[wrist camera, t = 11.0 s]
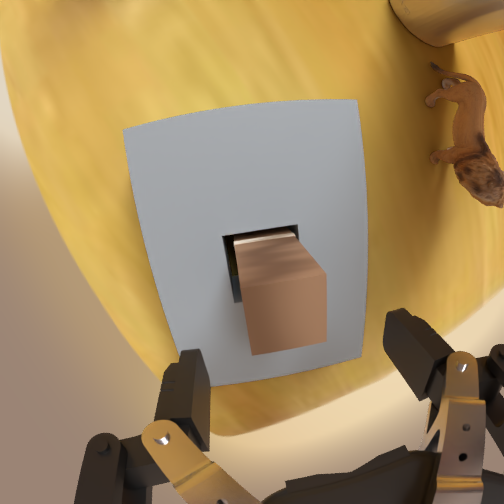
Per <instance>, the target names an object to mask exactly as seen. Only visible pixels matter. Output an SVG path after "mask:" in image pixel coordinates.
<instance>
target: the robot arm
mask: <svg viewBox="0 0 504 504" xmlns="http://www.w3.org/2000/svg"><path fill="white" fill-rule="evenodd" d="M390 4H391V6H392V8H393V10H394V12H395V14H396V15H397V17H398V18H399V19H400V21H401V22H402V23H403V25H404V26H405V27H406V28H407V29H408V30H409V31H410V32H411V33H413V34H414V35H415V36H416V37H417V38H419V39H420V40H422V41H423V42H425V43H427V44H429V45H432V46H436V47H442V46H445V45H448V44H451V43H457V42H460V41H463V40H467V39H470V38H473V37H477V36H481V35H484V34H488V33H492V32H496V31H501V30H504V0H390ZM383 347H384V350H385V352H386V354H387V355H388V356H389V358H390V359H391V361H392V362H393V363H394V365H395V366H396V368H397V369H398V371H399V372H400V373H401V375H402V376H403V378H404V379H405V381H406V382H407V384H408V385H409V387H410V388H411V389H412V391H413V392H414V394H415V395H416V397H417V398H418V400H419V401H422V400H423V399H426V398H428V397H429V398H430V400H431V401H430V404H429V408H428V414H427V420H426V425H425V430H424V435H423V439H422V442H421V445H420V447H419V449H418V450H413V451H408V450H407V448H406V446H405V445H403V446H401V447H399V448H396V449H394V450H392V451H389V452H387V453H384V454H381V455H379V456H377V457H376V458H374V459H372V460H371V461H369V462H368V463H366V464H365V465H363V466H361V467H359V468H358V469H356V470H354V471H352V472H348V473H335V474H316V475H313V476H308V477H304V478H298V479H293V480H288V481H285V482H286V488H284V489H281V490H279V491H277V492H275V493H273V494H271V495H270V496H268V497H267V498H265V499H264V500H263V501H262V502H260V501H259V500H257V499H256V498H255V497H254V496H252V495H251V494H250V493H249V492H248V491H246V490H245V489H244V488H243V487H242V486H241V485H239V484H238V483H237V482H236V481H235V480H234V479H233V478H232V477H231V476H229V475H228V474H227V473H226V472H225V471H224V470H223V469H222V468H221V467H220V466H219V465H217V464H216V463H215V462H212V461H210V460H209V459H208V458H207V457H206V456H205V455H204V454H203V453H202V452H204V451H209V438H210V437H209V435H210V393H211V386H210V378H209V374H208V371H207V368H206V365H205V362H204V359H203V356H202V353H201V350H200V349H199V348H198V349H189V350H182V351H181V353H180V358H179V363H171V364H170V365H169V367H168V368H167V369H166V371H165V372H164V375H163V380H162V384H161V389H160V390H161V392H160V394H159V398H158V403H157V408H156V413H155V419H154V422H152V423H150V424H149V425H148V426H147V427H146V428H145V429H144V430H143V433H142V434H141V435H138V436H135V437H131V438H127V439H122V440H118V438H117V437H116V436H114V435H113V434H110V433H101V434H98V435H96V436H94V437H93V438H91V440H90V441H89V442H88V444H87V447H86V451H85V455H84V460H83V463H82V467H81V472H80V476H79V481H78V485H77V490H76V496H75V501H74V504H152V486H154V485H158V484H163V483H167V482H171V483H172V484H173V486H174V488H175V490H176V491H177V492H178V493H179V495H180V496H181V497H182V498H183V499H184V500H185V501H186V503H187V504H504V472H503V474H499V473H495V472H492V471H488V470H484V469H482V466H483V457H484V446H485V428H487V430H488V431H489V433H490V434H491V436H492V438H493V439H494V441H495V442H496V444H497V446H498V448H499V449H500V451H501V453H502V455H503V456H504V398H503V396H502V395H501V394H500V390H501V388H502V386H503V387H504V344H498V345H495V346H493V348H492V349H491V351H490V354H489V356H485V357H480V358H475V357H473V356H472V355H471V354H470V353H467V352H463V351H457V352H455V351H454V350H453V349H452V348H451V347H450V346H449V345H448V344H447V343H446V342H445V341H444V340H443V339H442V337H441V336H440V335H439V334H436V331H435V330H434V329H433V328H431V326H430V325H429V324H428V323H427V322H426V321H425V320H423V319H421V318H419V317H417V316H412V315H411V314H410V313H409V312H408V311H407V310H406V309H405V308H400V309H397V310H393V311H390V312H388V313H387V315H386V321H385V328H384V335H383Z"/></svg>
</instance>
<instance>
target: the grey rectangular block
mask: <svg viewBox="0 0 504 504" xmlns="http://www.w3.org/2000/svg"><path fill="white" fill-rule="evenodd" d="M123 135H124V142H125V149H126V155H127V161H128V167H129V173H130V178H131V184H132V189H133V194H134V199H135V204H136V209H137V213H138V218H139V222H140V226H141V231H142V235H143V239H144V243H145V247H146V251H147V255H148V258H149V262H150V266H151V269H152V273H153V277H154V280H155V284H156V287H157V290H158V294H159V297H160V300H161V303H162V307H163V310H164V313H165V316H166V319H167V322H168V325H169V328H170V331H171V334H172V337H173V340H174V342H175V345H176V348H177V351H178V353H179V356H180V353H181V351H182V350H189V349H198V348H199V349H200V350H201V353H202V356H203V359H204V362H205V365H206V368H207V371H208V374H209V378H210V386H211V387H213V386H221V385H229V384H237V383H244V382H250V381H257V380H263V379H269V378H274V377H279V376H285V375H290V374H295V373H299V372H304V371H308V370H313V369H317V368H321V367H325V366H329V365H333V364H337V363H341V362H345V361H348V360H352V359H356V358H359V357H361V354H362V346H363V336H364V325H365V312H366V297H367V274H368V213H367V190H366V175H365V162H364V152H363V142H362V133H361V125H360V118H359V111H358V104H357V100H348V99H323V100H295V101H279V102H267V103H257V104H248V105H240V106H232V107H225V108H219V109H212V110H206V111H201V112H195V113H190V114H185V115H180V116H175V117H171V118H166V119H162V120H158V121H154V122H150V123H146V124H142V125H138V126H134V127H131V128H127V129H124V130H123ZM282 226H286V227H287V228H288V229H289V230H290V231H291V232H292V233H294V234H295V237H296V238H297V239H298V240H299V242H300V243H301V244H302V245H303V246H304V248H305V249H306V250H307V251H308V252H309V253H310V255H311V256H312V257H313V258H314V259H315V261H316V262H317V263H318V264H319V265H320V267H321V268H322V269H323V270H324V271H325V273H326V274H327V342H323V343H318V344H313V345H309V346H304V347H299V348H294V349H289V350H284V351H278V352H272V353H267V354H261V355H254V356H252V354H251V348H250V342H249V336H248V330H247V325H246V319H245V313H244V307H243V301H242V295H241V289H240V281H239V275H235V276H232V272H231V266H230V261H229V255H228V249H227V244H226V238H225V235H231V234H237V233H244V232H250V231H256V230H262V229H269V228H275V227H282Z"/></svg>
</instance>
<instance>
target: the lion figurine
mask: <svg viewBox="0 0 504 504" xmlns="http://www.w3.org/2000/svg"><path fill="white" fill-rule="evenodd" d="M430 63H431V67H432V68H433V69H434V70H435V71H437V72H438V73H440V74H443V75H446V76H450V77H454V78H445V79H444V80H443V81H442V86H443V88H444V89H445V90H444V89H437V90H436V91H435V92H434V93H432V94H430V95H428V96H427V97H426V100H425V103H426V105H427V106H428V107H434V106H435V100H436V99H438V98H440V97H442V98H445V99H447V100H449V101H452V102H456V103H458V105H459V107H458V110H457V112H456V115H455V117H454V120H453V140H454V145H455V146H453V147H450V148H447V150H438V151H435V152H433V153H432V154H431V155H430V161H431V163H433V164H438V161H439V160H443V161H445V162H447V163H452V164H454V169H455V170H454V171H455V174H456V175H457V178H458V180H459V183H460V184H461V185H462V186H463V187H465V188H466V189H467V190H468V191H469V192H470V194H471V195H472V197H474V198H475V199H477V200H478V201H480V202H481V203H482V204H484V205H486V206H496V207H499V208H503V205H504V172H503V171H502V170H501V169H500V167H499V165H498V162H497V161H496V158H495V156H494V155H493V154H492V153H491V151H490V149H489V147H488V145H487V143H486V142H485V135H484V113H485V109H486V96H485V93H484V91H483V89H482V88H481V86H480V84H479V83H478V82H477V81H476V80H475V79H474V78H472V77H471V76H469V75H466V74H461V73H454V72H447V71H444V70H442V69H440V68H439V67H438V66H437V65H435V64H434V63H433V62H430ZM456 78H458V79H462V80H465V81H466V82H462V83H461V82H460V81H459V80H458V79H456ZM450 85H452V87H451V88H450Z"/></svg>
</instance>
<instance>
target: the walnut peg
mask: <svg viewBox="0 0 504 504" xmlns="http://www.w3.org/2000/svg"><path fill="white" fill-rule="evenodd" d="M234 247H235V254H236V260H237V266H238V274H239V281H240V289H241V295H242V301H243V307H244V313H245V319H246V325H247V330H248V336H249V342H250V348H251V354H252V356H254V355H261V354H267V353H272V352H278V351H284V350H289V349H294V348H299V347H304V346H309V345H313V344H318V343H323V342H327V274H326V273H325V271H324V270H323V269H322V268H321V267H320V265H319V264H318V263H317V262H316V261H315V259H314V258H313V257H312V256H311V255H310V253H309V252H308V251H307V250H306V249H305V248H304V246H303V245H302V244H301V243H300V242H299V240H298V239H297V238H296V237H295V234H294V233H292V232H291V231H290V230H289V229H288V228H287V227H286V226H282V227H275V228H269V229H262V230H256V231H250V232H244V233H237V234H234Z"/></svg>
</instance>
